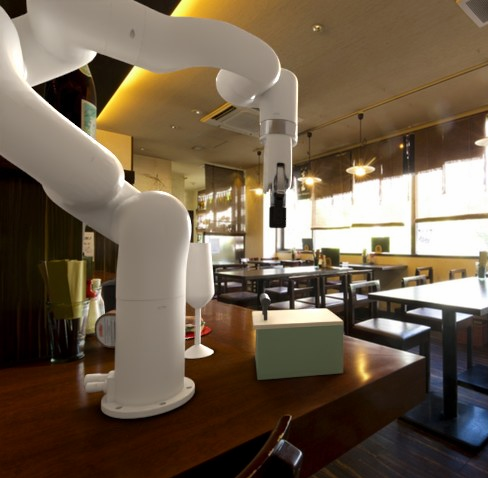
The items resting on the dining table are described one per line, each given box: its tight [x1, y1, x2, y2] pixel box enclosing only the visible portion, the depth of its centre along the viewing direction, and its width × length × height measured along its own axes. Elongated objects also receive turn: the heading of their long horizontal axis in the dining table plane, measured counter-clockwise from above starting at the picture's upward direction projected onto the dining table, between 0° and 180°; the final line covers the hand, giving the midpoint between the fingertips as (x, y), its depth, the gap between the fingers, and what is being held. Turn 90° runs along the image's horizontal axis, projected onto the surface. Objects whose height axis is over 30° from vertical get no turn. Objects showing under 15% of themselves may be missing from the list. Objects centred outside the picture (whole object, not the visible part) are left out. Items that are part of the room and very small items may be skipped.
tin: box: [94, 310, 116, 349], centre depth 75 cm, size 15×3×8 cm, turn 84°
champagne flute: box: [185, 242, 215, 359], centre depth 72 cm, size 7×7×24 cm
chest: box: [254, 324, 344, 381], centre depth 65 cm, size 16×13×9 cm
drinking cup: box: [100, 277, 116, 314], centre depth 85 cm, size 8×8×20 cm
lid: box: [251, 292, 344, 331], centre depth 65 cm, size 16×13×5 cm
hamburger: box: [185, 315, 212, 339], centre depth 88 cm, size 14×14×6 cm
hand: (277, 227), depth 65 cm, fingers closed
